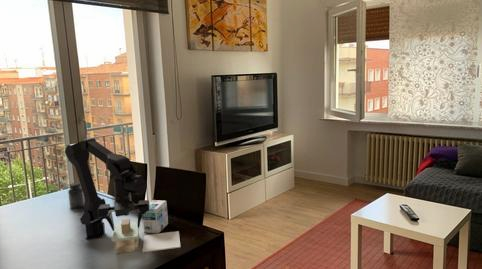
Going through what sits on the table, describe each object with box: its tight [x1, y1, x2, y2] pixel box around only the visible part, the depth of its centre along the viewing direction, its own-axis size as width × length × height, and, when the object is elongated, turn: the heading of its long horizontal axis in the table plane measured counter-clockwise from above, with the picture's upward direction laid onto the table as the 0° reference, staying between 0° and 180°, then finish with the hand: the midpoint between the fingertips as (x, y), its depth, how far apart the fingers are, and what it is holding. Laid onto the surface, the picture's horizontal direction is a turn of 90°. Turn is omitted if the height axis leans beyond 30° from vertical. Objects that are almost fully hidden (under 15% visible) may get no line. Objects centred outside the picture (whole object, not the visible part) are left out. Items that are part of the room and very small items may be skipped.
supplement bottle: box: [67, 182, 85, 210], centre depth 186 cm, size 7×7×12 cm
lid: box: [111, 218, 141, 243], centre depth 142 cm, size 9×13×6 cm
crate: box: [113, 233, 140, 254], centre depth 143 cm, size 8×12×5 cm, turn 12°
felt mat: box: [142, 230, 182, 253], centre depth 145 cm, size 14×14×1 cm
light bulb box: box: [142, 199, 169, 234], centre depth 157 cm, size 11×7×11 cm, turn 168°
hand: (126, 229), depth 142 cm, fingers open, 9 cm apart
